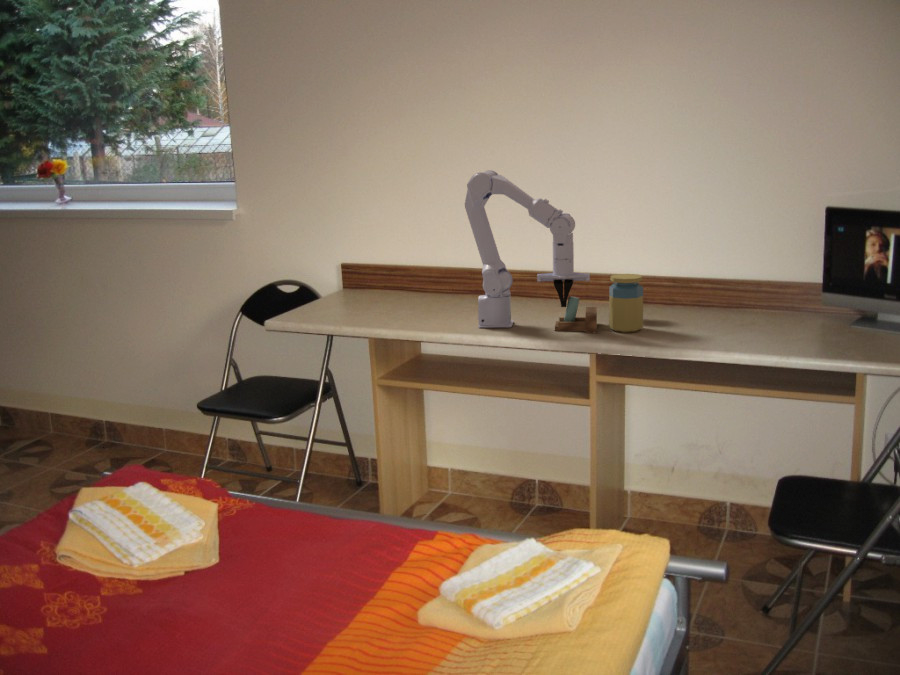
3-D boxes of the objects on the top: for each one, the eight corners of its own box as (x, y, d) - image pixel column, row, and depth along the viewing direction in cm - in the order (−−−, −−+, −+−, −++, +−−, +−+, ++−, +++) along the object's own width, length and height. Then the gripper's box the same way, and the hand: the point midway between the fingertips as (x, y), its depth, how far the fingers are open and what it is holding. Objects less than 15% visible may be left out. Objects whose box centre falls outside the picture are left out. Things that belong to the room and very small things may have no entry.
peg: (562, 327, 262) (569, 298, 259) (562, 324, 264) (568, 295, 262) (573, 329, 261) (579, 300, 259) (573, 326, 264) (579, 297, 262)
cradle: (554, 332, 258) (554, 316, 257) (556, 323, 269) (556, 307, 268) (596, 332, 256) (596, 315, 255) (596, 323, 268) (596, 306, 266)
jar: (641, 334, 253) (642, 279, 249) (607, 333, 255) (607, 279, 252) (644, 326, 262) (644, 273, 258) (611, 325, 264) (611, 273, 261)
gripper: (536, 261, 256) (536, 309, 259) (589, 260, 254) (589, 309, 257) (537, 257, 263) (538, 304, 266) (589, 256, 260) (589, 304, 264)
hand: (563, 306), depth 262 cm, fingers closed
